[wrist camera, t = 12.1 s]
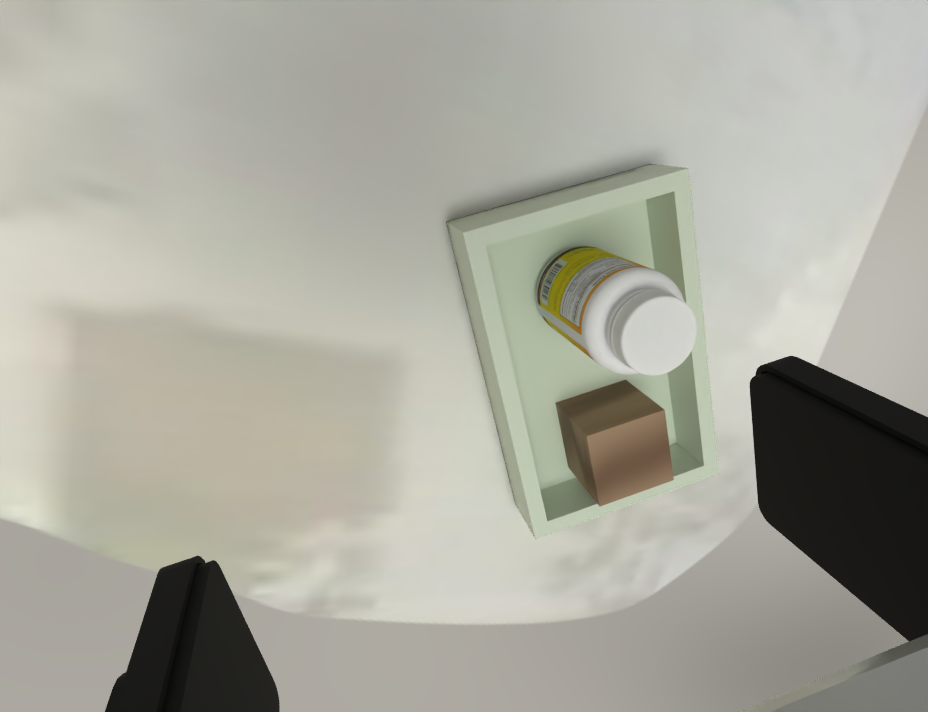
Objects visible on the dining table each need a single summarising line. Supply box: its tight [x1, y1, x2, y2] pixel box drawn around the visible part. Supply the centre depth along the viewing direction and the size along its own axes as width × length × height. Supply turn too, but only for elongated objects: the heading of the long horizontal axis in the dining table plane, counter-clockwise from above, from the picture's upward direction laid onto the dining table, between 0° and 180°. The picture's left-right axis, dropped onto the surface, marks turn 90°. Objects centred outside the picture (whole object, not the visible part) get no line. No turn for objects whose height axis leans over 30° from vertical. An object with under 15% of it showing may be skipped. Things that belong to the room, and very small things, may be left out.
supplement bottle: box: [536, 246, 697, 376], centre depth 35 cm, size 6×6×10 cm
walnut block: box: [555, 380, 674, 507], centre depth 41 cm, size 5×5×5 cm
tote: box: [446, 164, 719, 539], centre depth 40 cm, size 20×13×4 cm, turn 13°
